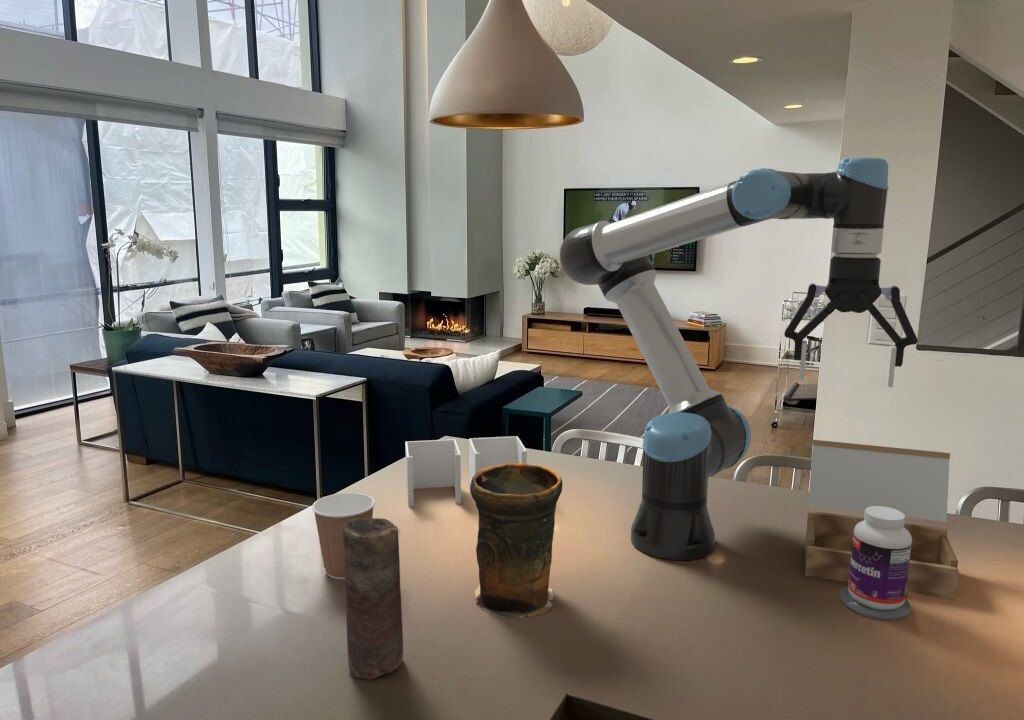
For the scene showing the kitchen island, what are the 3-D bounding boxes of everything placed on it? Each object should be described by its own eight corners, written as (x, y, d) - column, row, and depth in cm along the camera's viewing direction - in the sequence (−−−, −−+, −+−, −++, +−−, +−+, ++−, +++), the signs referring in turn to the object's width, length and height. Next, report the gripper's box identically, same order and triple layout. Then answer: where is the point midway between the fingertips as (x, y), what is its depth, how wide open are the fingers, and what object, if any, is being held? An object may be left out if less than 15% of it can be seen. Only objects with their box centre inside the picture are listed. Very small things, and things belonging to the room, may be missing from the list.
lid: (813, 439, 137) (812, 439, 138) (808, 504, 136) (808, 504, 136) (950, 453, 129) (949, 453, 130) (946, 522, 128) (945, 521, 129)
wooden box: (805, 575, 126) (808, 536, 124) (805, 546, 137) (808, 510, 135) (954, 599, 118) (960, 557, 117) (941, 566, 129) (946, 528, 128)
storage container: (517, 482, 170) (517, 436, 168) (526, 500, 160) (526, 451, 157) (406, 489, 166) (405, 441, 164) (408, 507, 155) (407, 457, 153)
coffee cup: (389, 563, 130) (387, 498, 128) (352, 589, 121) (350, 519, 118) (340, 552, 134) (338, 488, 132) (302, 577, 125) (298, 509, 123)
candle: (352, 649, 104) (346, 513, 100) (405, 647, 105) (401, 512, 101) (344, 683, 96) (338, 537, 93) (401, 680, 97) (397, 535, 93)
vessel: (572, 581, 123) (573, 466, 119) (547, 627, 110) (547, 499, 106) (490, 568, 128) (488, 457, 124) (457, 611, 115) (454, 488, 111)
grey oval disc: (840, 612, 114) (841, 609, 114) (838, 583, 123) (838, 580, 123) (914, 625, 110) (915, 621, 110) (906, 594, 119) (906, 590, 119)
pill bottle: (836, 591, 119) (843, 506, 116) (876, 584, 121) (884, 500, 119) (874, 617, 111) (883, 526, 109) (917, 608, 114) (927, 519, 111)
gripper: (774, 255, 124) (766, 380, 127) (946, 258, 115) (931, 393, 119) (776, 253, 130) (768, 372, 134) (938, 256, 122) (924, 383, 126)
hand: (844, 382), depth 127 cm, fingers open, 13 cm apart
